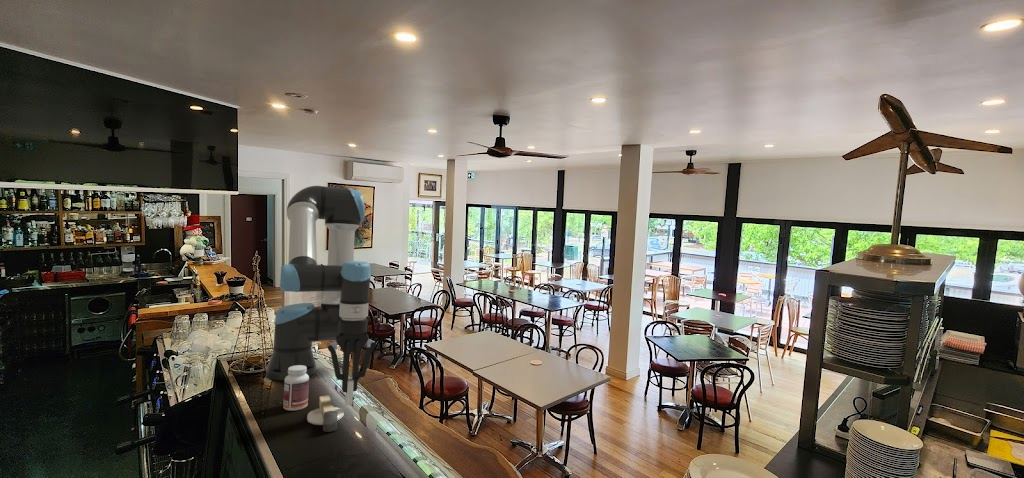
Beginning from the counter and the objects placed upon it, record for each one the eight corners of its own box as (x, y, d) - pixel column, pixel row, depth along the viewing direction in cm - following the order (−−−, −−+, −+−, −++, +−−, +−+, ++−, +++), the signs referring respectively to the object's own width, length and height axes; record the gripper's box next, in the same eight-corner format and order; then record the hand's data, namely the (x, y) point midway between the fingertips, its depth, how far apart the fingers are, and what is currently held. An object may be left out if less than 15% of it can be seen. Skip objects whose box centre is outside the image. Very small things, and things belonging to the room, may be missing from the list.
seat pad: (305, 413, 116) (305, 409, 116) (340, 408, 121) (341, 404, 121) (308, 427, 108) (309, 423, 108) (346, 421, 113) (346, 417, 113)
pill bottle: (311, 403, 123) (313, 364, 123) (301, 412, 117) (304, 371, 117) (289, 402, 123) (291, 363, 123) (278, 410, 117) (280, 370, 117)
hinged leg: (337, 430, 107) (338, 414, 107) (323, 432, 106) (324, 417, 105) (329, 408, 120) (330, 394, 120) (317, 410, 118) (317, 395, 118)
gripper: (329, 321, 112) (324, 412, 112) (380, 319, 118) (375, 404, 118) (326, 316, 118) (321, 401, 118) (374, 314, 125) (370, 395, 125)
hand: (348, 403), depth 118 cm, fingers closed
